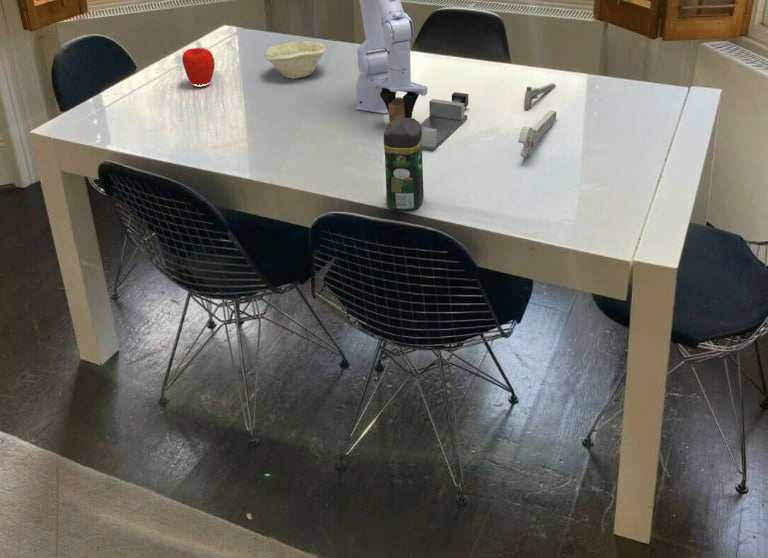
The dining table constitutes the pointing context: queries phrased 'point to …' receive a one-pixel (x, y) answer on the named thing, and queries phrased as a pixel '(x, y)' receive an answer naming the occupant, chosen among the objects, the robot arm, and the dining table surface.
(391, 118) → the block
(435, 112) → the slide jaw
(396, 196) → the coffee jar
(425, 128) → the vise
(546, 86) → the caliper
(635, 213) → the dining table surface
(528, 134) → the wrench
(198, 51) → the apple
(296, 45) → the bowl
